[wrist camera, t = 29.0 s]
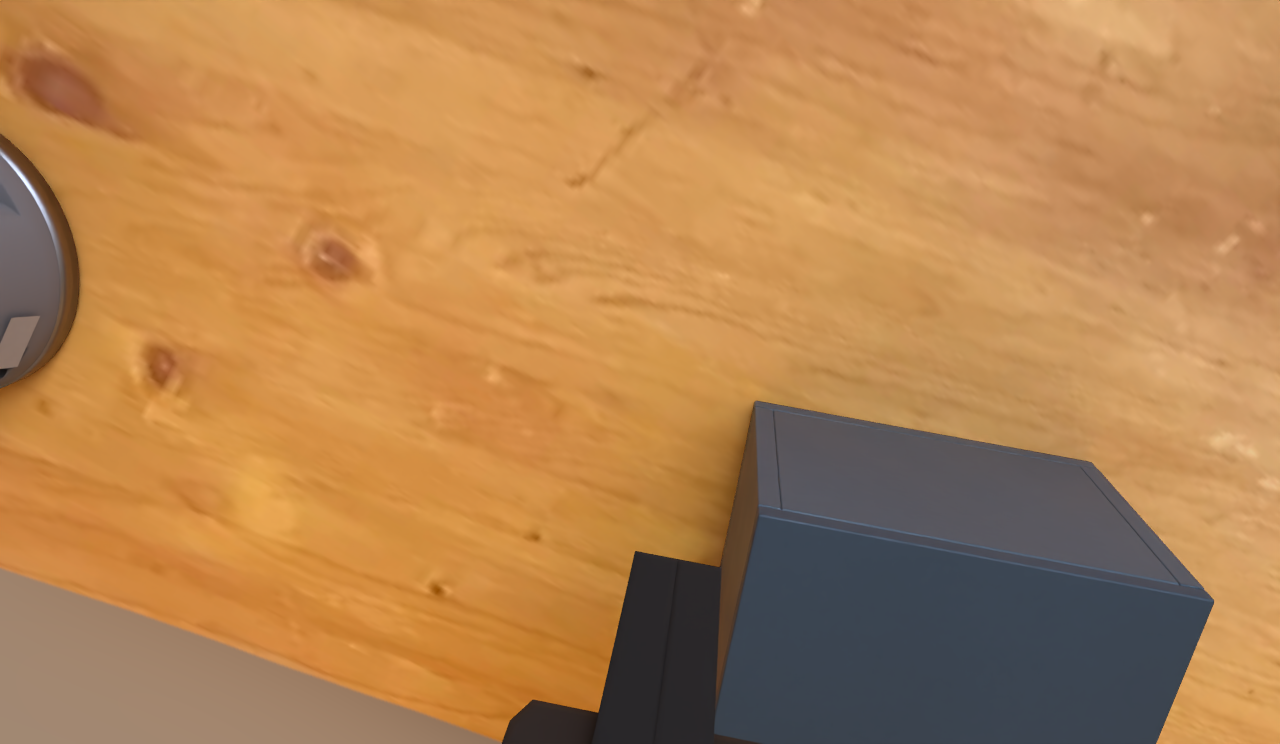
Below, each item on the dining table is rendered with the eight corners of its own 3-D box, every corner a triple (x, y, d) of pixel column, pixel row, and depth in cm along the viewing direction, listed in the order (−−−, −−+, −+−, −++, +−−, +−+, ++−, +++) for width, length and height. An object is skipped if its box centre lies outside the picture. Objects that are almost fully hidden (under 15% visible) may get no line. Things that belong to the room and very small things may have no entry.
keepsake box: (1002, 722, 51) (1075, 907, 40) (699, 662, 52) (687, 827, 40) (1091, 461, 46) (1205, 588, 35) (754, 399, 47) (758, 504, 35)
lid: (1070, 922, 40) (1076, 938, 39) (684, 841, 41) (683, 856, 40) (1205, 589, 35) (1216, 601, 34) (758, 504, 35) (758, 514, 35)
